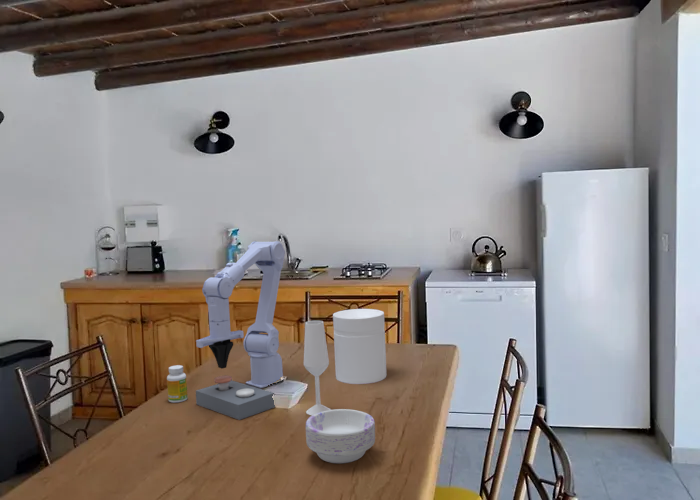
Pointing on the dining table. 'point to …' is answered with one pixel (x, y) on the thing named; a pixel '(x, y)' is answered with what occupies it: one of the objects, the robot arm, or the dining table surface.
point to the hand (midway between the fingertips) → (222, 367)
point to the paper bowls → (340, 434)
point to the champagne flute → (315, 358)
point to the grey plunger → (244, 393)
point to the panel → (234, 400)
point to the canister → (359, 346)
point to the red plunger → (223, 382)
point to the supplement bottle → (177, 384)
